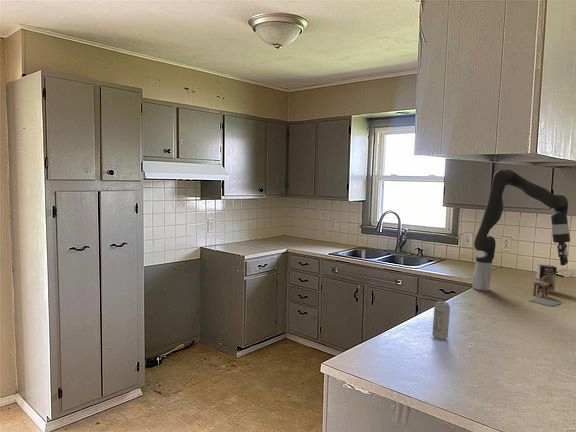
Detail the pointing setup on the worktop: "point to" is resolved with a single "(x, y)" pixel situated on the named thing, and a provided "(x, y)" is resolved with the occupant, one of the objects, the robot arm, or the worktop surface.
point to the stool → (542, 288)
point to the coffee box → (546, 276)
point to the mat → (545, 302)
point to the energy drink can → (441, 320)
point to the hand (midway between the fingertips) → (564, 264)
